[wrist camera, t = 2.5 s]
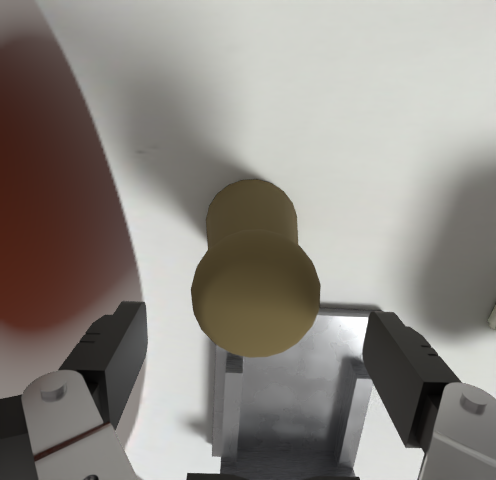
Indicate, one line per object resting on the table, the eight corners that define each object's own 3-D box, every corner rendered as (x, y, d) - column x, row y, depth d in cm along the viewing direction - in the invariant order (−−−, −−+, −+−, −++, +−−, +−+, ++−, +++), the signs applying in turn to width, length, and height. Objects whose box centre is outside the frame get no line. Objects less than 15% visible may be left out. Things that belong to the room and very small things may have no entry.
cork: (253, 282, 24) (260, 408, 14) (187, 227, 23) (138, 321, 12) (316, 222, 23) (376, 312, 12) (249, 158, 21) (253, 200, 11)
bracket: (218, 302, 25) (212, 346, 20) (383, 311, 25) (414, 356, 20) (212, 445, 29) (206, 508, 25) (351, 450, 30) (371, 513, 25)
